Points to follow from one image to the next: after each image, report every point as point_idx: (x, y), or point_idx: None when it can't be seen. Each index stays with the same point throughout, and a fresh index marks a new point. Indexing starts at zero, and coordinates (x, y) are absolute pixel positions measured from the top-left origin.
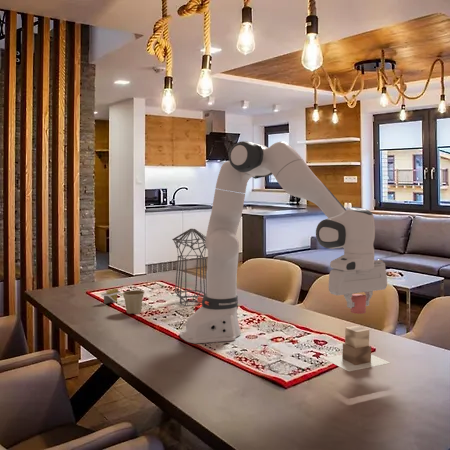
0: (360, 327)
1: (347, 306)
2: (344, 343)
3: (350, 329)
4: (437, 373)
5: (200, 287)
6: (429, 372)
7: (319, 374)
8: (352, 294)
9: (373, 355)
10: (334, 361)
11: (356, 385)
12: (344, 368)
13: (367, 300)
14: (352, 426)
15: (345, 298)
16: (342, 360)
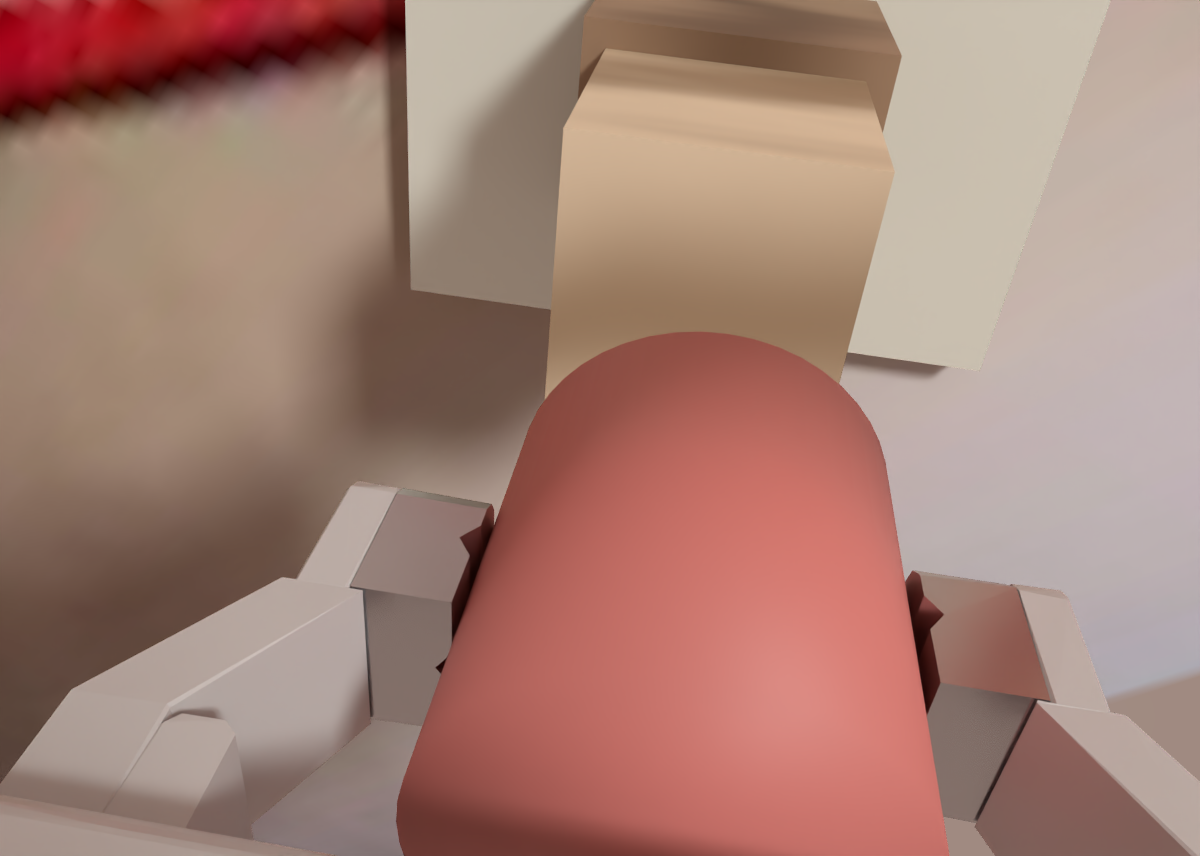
0: (817, 281)
1: (355, 496)
2: (594, 46)
3: (559, 263)
4: (1141, 642)
5: None
6: (1113, 601)
7: (167, 88)
8: (622, 680)
9: (1067, 108)
10: None
11: (344, 434)
12: (421, 212)
13: (958, 817)
14: (3, 705)
15: (170, 653)
16: (575, 14)
